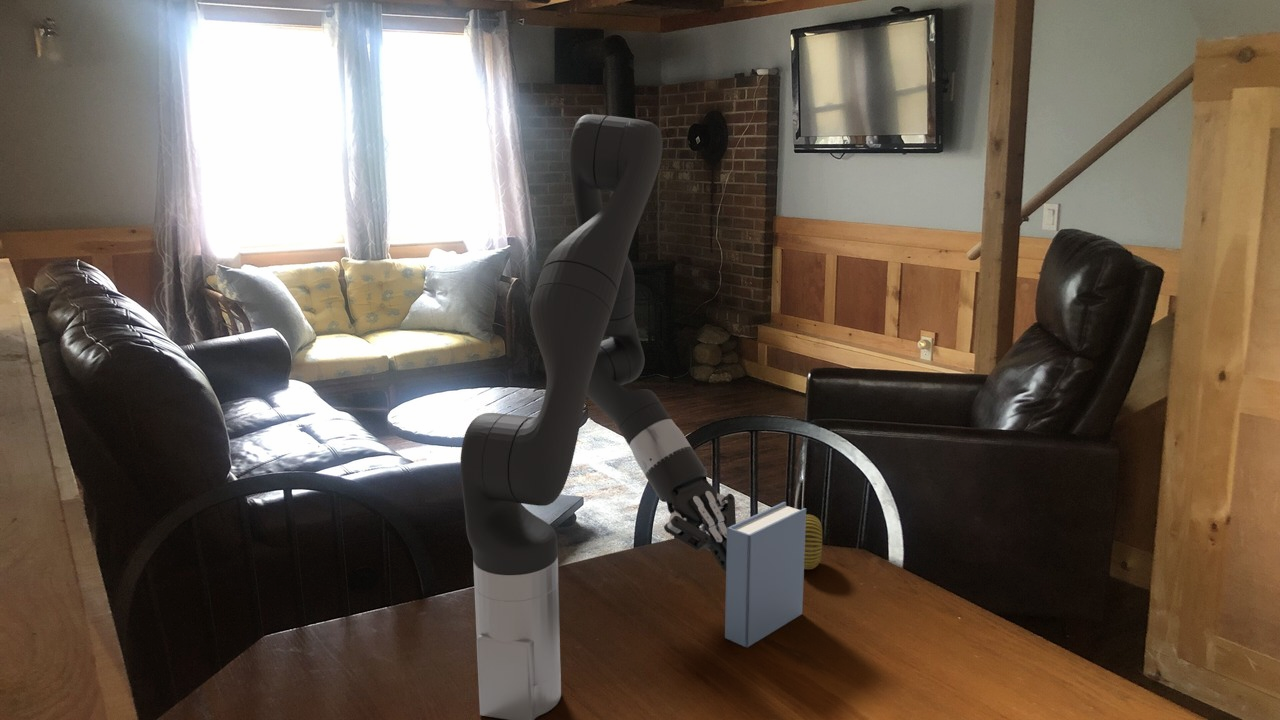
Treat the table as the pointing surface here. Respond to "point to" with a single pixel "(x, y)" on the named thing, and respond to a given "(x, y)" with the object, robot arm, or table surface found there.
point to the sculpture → (813, 542)
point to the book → (764, 573)
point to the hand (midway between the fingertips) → (735, 568)
